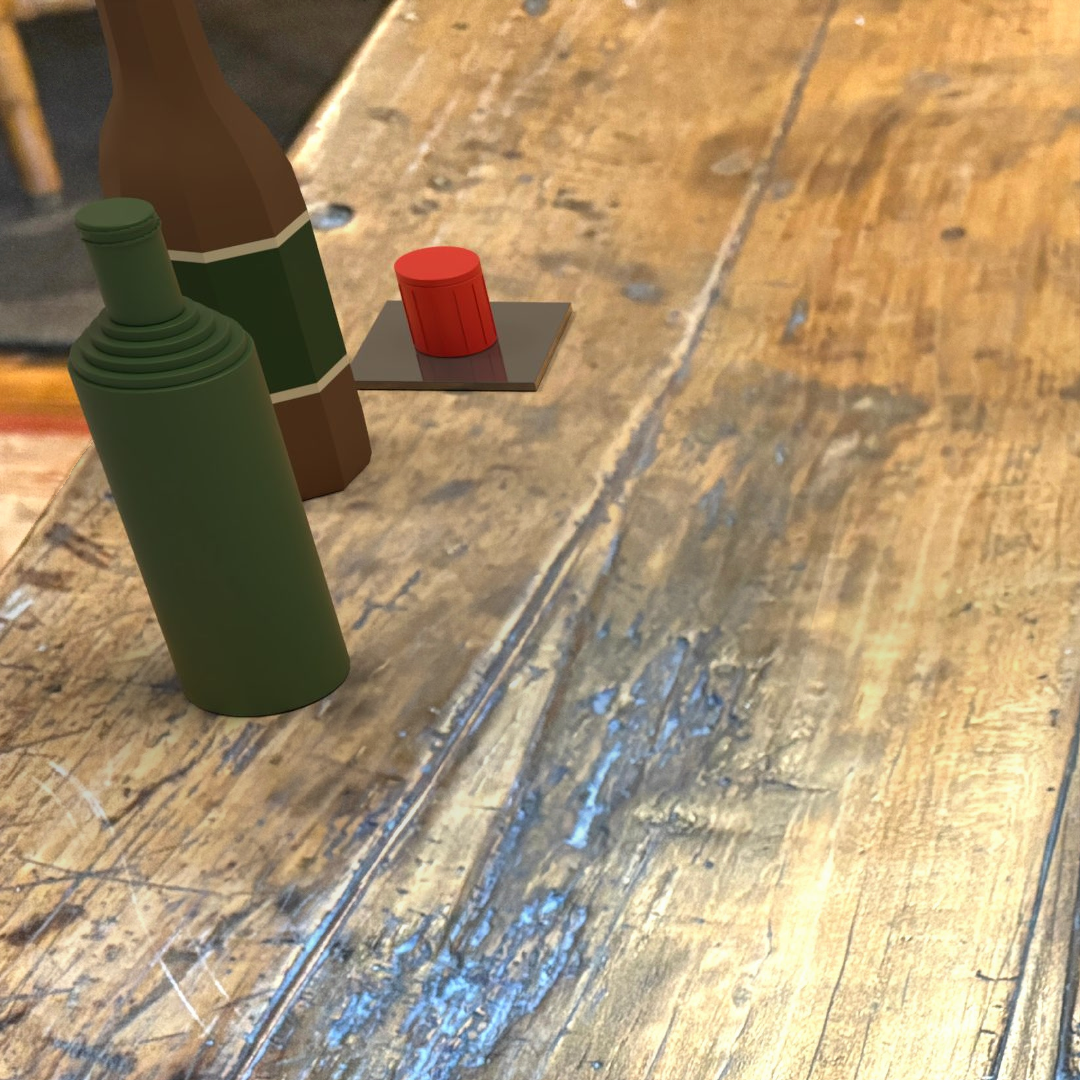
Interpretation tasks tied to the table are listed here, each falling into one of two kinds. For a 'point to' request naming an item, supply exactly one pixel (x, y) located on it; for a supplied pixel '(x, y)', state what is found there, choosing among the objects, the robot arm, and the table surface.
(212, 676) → the bottle
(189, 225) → the beer bottle
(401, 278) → the cap
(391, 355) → the coaster
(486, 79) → the table surface
